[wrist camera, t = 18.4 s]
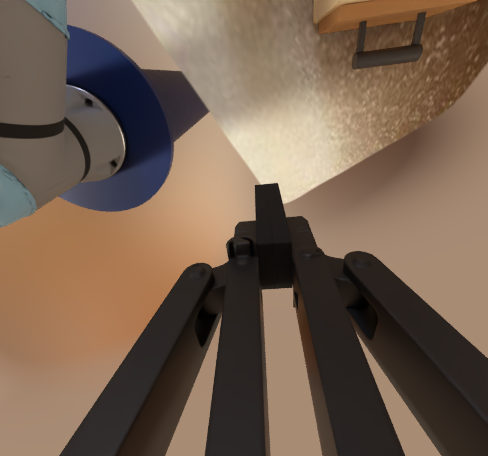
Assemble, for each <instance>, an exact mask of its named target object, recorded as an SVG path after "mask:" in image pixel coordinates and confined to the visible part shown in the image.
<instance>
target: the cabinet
mask: <svg viewBox="0 0 488 456" xmlns="http://www.w3.org/2000/svg"><path fill="white" fill-rule="evenodd" d="M364 1H371V0H314V8H313V24H317V23H319V22H320V21H322V20H323V19H324V18H326V17H327V16H328V15H329V14H331V13H332V12H333V11H334V10H336V9H337V8H338V7H340V6H341V5H345V4H351V3H358V2H364Z"/></svg>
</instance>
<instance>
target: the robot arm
mask: <svg viewBox="0 0 488 456" xmlns="http://www.w3.org/2000/svg"><path fill="white" fill-rule="evenodd" d="M66 11H67V10H66V0H0V227H3V226H7V225H9V224H11V223H13V222H15V221H17V220H19V219H21V218H23V217H26V216H30V215H32V214H33V213H34V212H35V211H36V210H38V209H39V208H41V207H42V206H44V205H45V204H47V203H48V202H50V201H52V200H53V199H54V198H56V197H58V196H59V195H61V194H62V193H64V192H65V191H67V190H68V189H70V188H72V187H73V186H75V185H76V184H78V183H82V182H91V181H99V180H104V179H107V178H109V177H111V176H112V175H114V174H115V173H116V172H118V171H119V170H120V169H121V168H122V167H123V165H124V164H125V162H126V160H127V156H128V150H129V144H128V137H127V133H126V130H125V128H124V125H123V123H122V121H121V119H120V118H119V116H118V115H117V113H116V112H115V111H114V109H113V108H112V107H111V106H110V105H109V104H108V103H107V102H106V101H105V100H104V99H103V98H101V97H100V96H99V95H97V94H96V93H94V92H92V91H91V90H89V89H87V88H84V87H81V86H78V85H74V84H66V67H67V39H68V40H69V38H70V35H69V32H68V31H67V12H66ZM255 206H256V221H245V222H239V223H238V224H237V226H236V227H235V234H234V237H233V238H231V239H230V240H229V241H228V242H227V244H226V248H227V253H228V258H229V261H228V262H227V263H225V264H223V265H221V266H218V267H215V268H212V267H211V266H210V265H208V264H206V263H196V264H193V265H191V266H189V267H187V268H186V269H185V270H184V272H183V273H182V274H181V276H180V278H179V279H178V280H177V282H176V283H175V285H174V286H173V288H172V289H171V291H170V292H169V294H168V295H167V297H166V298H165V300H164V301H163V303H162V304H161V306H160V307H159V309H158V310H157V312H156V313H155V315H154V316H153V317H152V319H151V320H150V322H149V323H148V325H147V327H146V328H145V329H144V331H143V332H142V334H141V335H140V337H139V338H138V340H137V341H136V343H135V344H134V346H133V347H132V349H131V350H130V352H129V353H128V355H127V356H126V358H125V359H124V360H123V362H122V364H121V365H120V366H119V368H118V370H117V371H116V372H115V374H114V375H113V377H112V378H111V380H110V381H109V383H108V384H107V386H106V387H105V389H104V390H103V392H102V393H101V395H100V396H99V398H98V399H97V401H96V402H95V404H94V405H93V406H92V408H91V409H90V411H89V412H88V414H87V416H86V417H85V418H84V420H83V422H82V423H81V424H80V426H79V428H78V429H77V430H76V432H75V433H74V435H73V436H72V438H71V439H70V441H69V442H68V444H67V445H66V446H65V448H64V450H63V451H62V452H61V454H60V455H59V456H165V454H166V452H167V449H168V447H169V444H170V442H171V440H172V437H173V434H174V432H175V430H176V427H177V424H178V422H179V419H180V417H181V415H182V412H183V410H184V407H185V405H186V402H187V400H188V397H189V395H190V392H191V390H192V387H193V385H194V383H195V380H196V378H197V375H198V373H199V370H200V368H201V365H202V362H203V360H204V358H205V355H206V353H207V350H208V348H209V345H210V343H211V340H212V338H213V335H214V333H215V330H216V328H217V325H218V323H219V320H220V318H221V316H222V320H221V327H220V336H219V344H218V352H217V360H216V369H215V377H214V385H213V393H212V401H211V410H210V419H209V426H208V434H207V442H206V450H205V456H270V438H269V420H268V400H267V399H268V398H267V379H266V360H265V359H266V358H265V339H264V321H263V320H264V319H263V300H262V289H279V288H292V284H293V307H295V308H296V313H297V318H298V324H299V330H300V335H301V341H302V346H303V352H304V357H305V362H306V368H307V373H308V379H309V384H310V390H311V395H312V401H313V406H314V411H315V417H316V422H317V428H318V433H319V439H320V444H321V449H322V455H323V456H405V454H404V452H403V449H402V447H401V444H400V442H399V439H398V437H397V434H396V432H395V429H394V427H393V424H392V422H391V419H390V417H389V415H388V412H387V409H386V407H385V404H384V402H383V399H382V397H381V394H380V392H379V390H378V387H377V384H376V382H375V379H374V377H373V374H372V372H371V369H370V367H369V364H368V362H367V359H366V357H365V354H364V352H363V349H362V347H361V344H360V342H359V339H358V337H357V334H358V335H359V337H360V338H361V340H362V341H363V343H364V344H365V346H366V347H367V348H368V350H369V351H370V353H371V354H372V355H373V357H374V359H375V360H376V361H377V363H378V364H379V366H380V367H381V369H382V370H383V372H384V373H385V374H386V376H387V377H388V379H389V380H390V382H391V383H392V384H393V386H394V388H395V389H396V390H397V392H398V393H399V395H400V396H401V397H402V399H403V401H404V402H405V403H406V405H407V406H408V408H409V409H410V411H411V412H412V413H413V415H414V416H415V418H416V419H417V421H418V422H419V424H420V425H421V427H422V428H423V430H424V431H425V432H426V434H427V435H428V437H429V438H430V440H431V441H432V443H433V444H434V445H435V447H436V448H437V450H438V451H439V453H440V454H441V455H442V456H488V358H487V357H485V356H484V355H483V354H482V353H481V352H480V351H479V350H478V349H477V348H476V347H475V346H473V345H472V344H471V343H470V342H469V341H468V340H467V339H466V338H465V337H463V336H462V335H461V334H460V333H459V332H458V331H457V330H456V329H455V328H454V327H452V326H451V325H450V324H449V323H448V322H447V321H446V320H444V318H442V317H441V316H440V315H439V314H438V313H437V312H436V311H435V310H434V309H432V308H431V307H430V306H429V305H428V304H427V303H426V302H425V301H424V300H423V299H422V298H420V297H419V296H418V295H417V294H416V293H415V292H414V291H413V290H412V289H410V288H409V287H408V286H407V285H406V284H405V283H404V282H403V281H402V280H401V279H400V278H398V277H397V276H396V275H395V274H394V273H393V272H392V271H390V269H388V268H387V267H386V266H385V265H384V264H383V263H382V262H381V261H380V260H378V259H377V258H376V257H374V256H373V255H372V254H369V253H366V252H361V251H354V252H350V253H348V254H347V255H346V256H345V257H344V259H341V258H334V257H330V256H327V255H325V254H324V252H323V251H322V250H321V249H320V248H318V247H317V245H316V242H315V239H314V237H313V234H312V232H311V229H310V227H309V224H308V221H307V220H306V219H305V218H303V217H302V216H297V217H286V215H285V211H284V207H283V203H282V199H281V194H280V190H279V186H278V183H274V184H263V185H255ZM355 331H356V332H357V334H356V332H355Z"/></svg>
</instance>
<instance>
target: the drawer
mask: <svg viewBox="0 0 488 456" xmlns="http://www.w3.org/2000/svg"><path fill="white" fill-rule="evenodd" d="M474 1H477V0H371V1H364V2H358V3H351V4H345V5H341V6H340V7H338V8H337V9H336V10H334V11H333V12H332V13H331V14H329V15H328V16H327V17H326V18H324V19H323V20H322V21H320V22H319V34H323V33H330V32H336V31H343V30H350V29H357V28H359V32H358V41H357V50H356V53H355V54H354V55H353V58H352V69H362V68H369V67H377V66H385V65H392V64H400V63H407V62H415V61H418V60H419V58H420V57H421V54H422V50H423V48H422V45H421V44H420V39H421V35H422V30H423V26H424V21H425V18H426V17H429V16H432V15H435V14H438V13H441V12H444V11H447V10H450V9H453V8H456V7H459V6H462V5H465V4H468V3H471V2H474ZM412 20H416V25H415V29H414V34H413V39H412V44H411V45H409V46H401V47H394V48H387V49H380V50H372V51H365V52H363V50H364V41H365V33H366V27H371V26H377V25H384V24H391V23H398V22H405V21H412Z"/></svg>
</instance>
